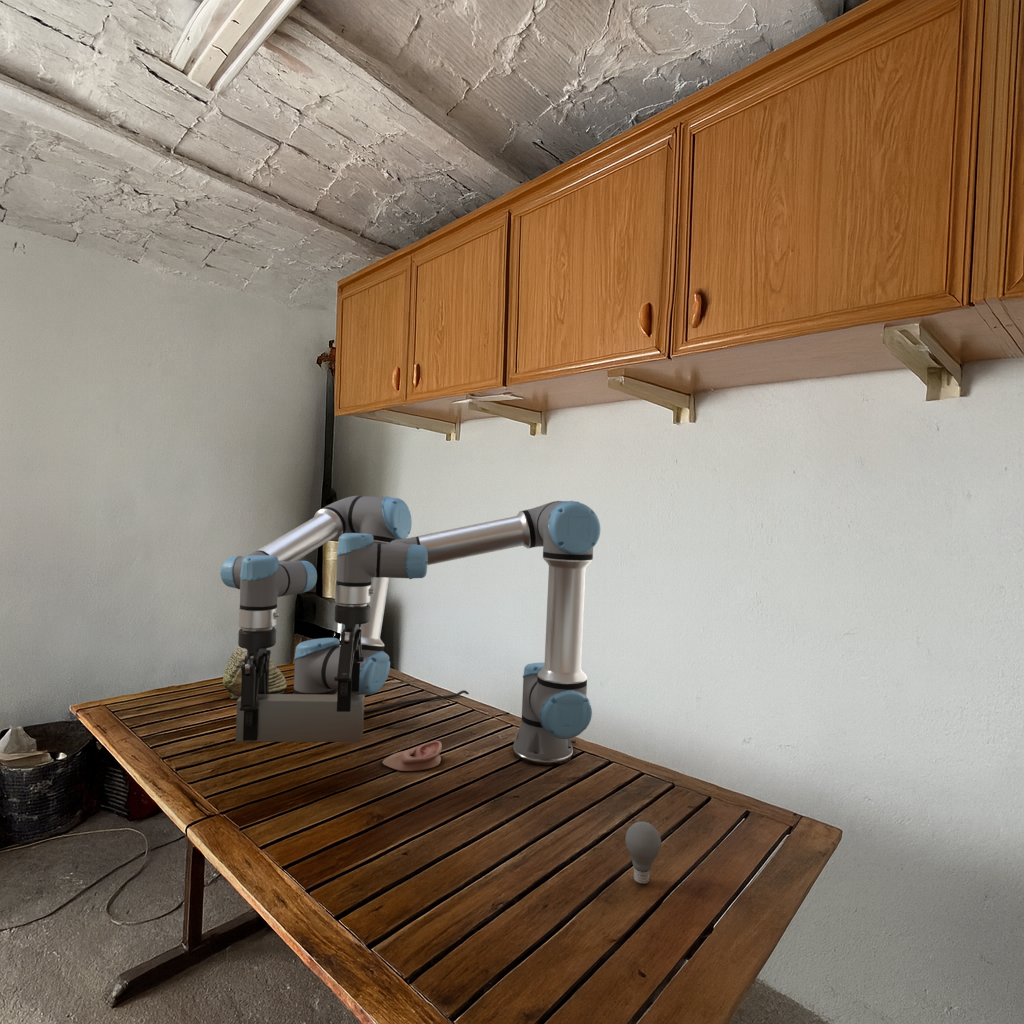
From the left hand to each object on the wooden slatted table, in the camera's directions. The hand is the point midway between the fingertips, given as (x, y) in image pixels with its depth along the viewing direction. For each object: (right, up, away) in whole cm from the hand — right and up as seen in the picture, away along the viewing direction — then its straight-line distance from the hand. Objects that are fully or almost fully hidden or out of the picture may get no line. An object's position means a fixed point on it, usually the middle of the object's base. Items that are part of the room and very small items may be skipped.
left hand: (253, 735), depth 136 cm
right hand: (+20, +7, +2) cm, 21 cm away
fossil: (-25, -9, +62) cm, 67 cm away
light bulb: (+78, -15, -28) cm, 84 cm away
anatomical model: (+32, -13, +16) cm, 38 cm away
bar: (+10, -1, +1) cm, 10 cm away
